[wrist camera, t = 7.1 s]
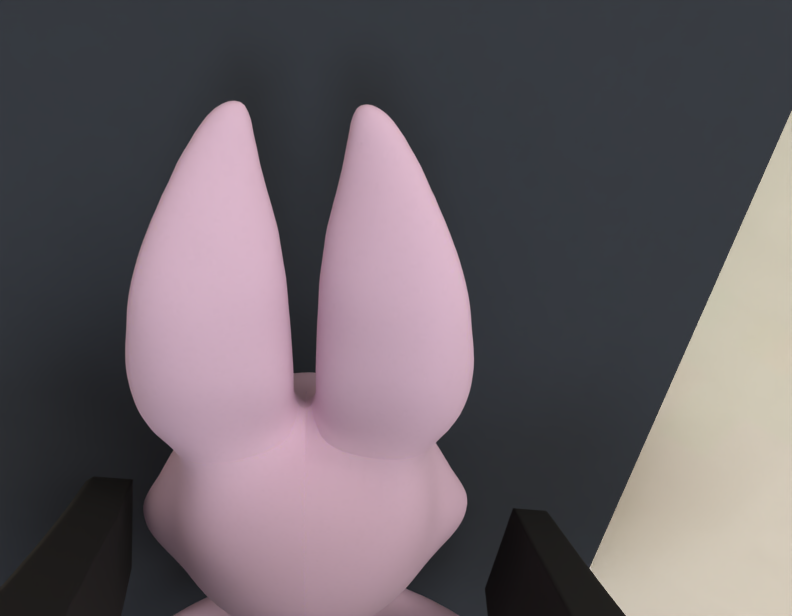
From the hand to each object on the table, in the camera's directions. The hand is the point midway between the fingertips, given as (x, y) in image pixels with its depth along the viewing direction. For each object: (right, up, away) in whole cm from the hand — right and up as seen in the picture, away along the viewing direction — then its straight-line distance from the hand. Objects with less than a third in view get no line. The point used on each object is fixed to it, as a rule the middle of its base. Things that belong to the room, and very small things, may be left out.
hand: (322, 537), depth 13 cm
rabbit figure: (0, +1, +2) cm, 2 cm away
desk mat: (0, +1, +2) cm, 2 cm away
